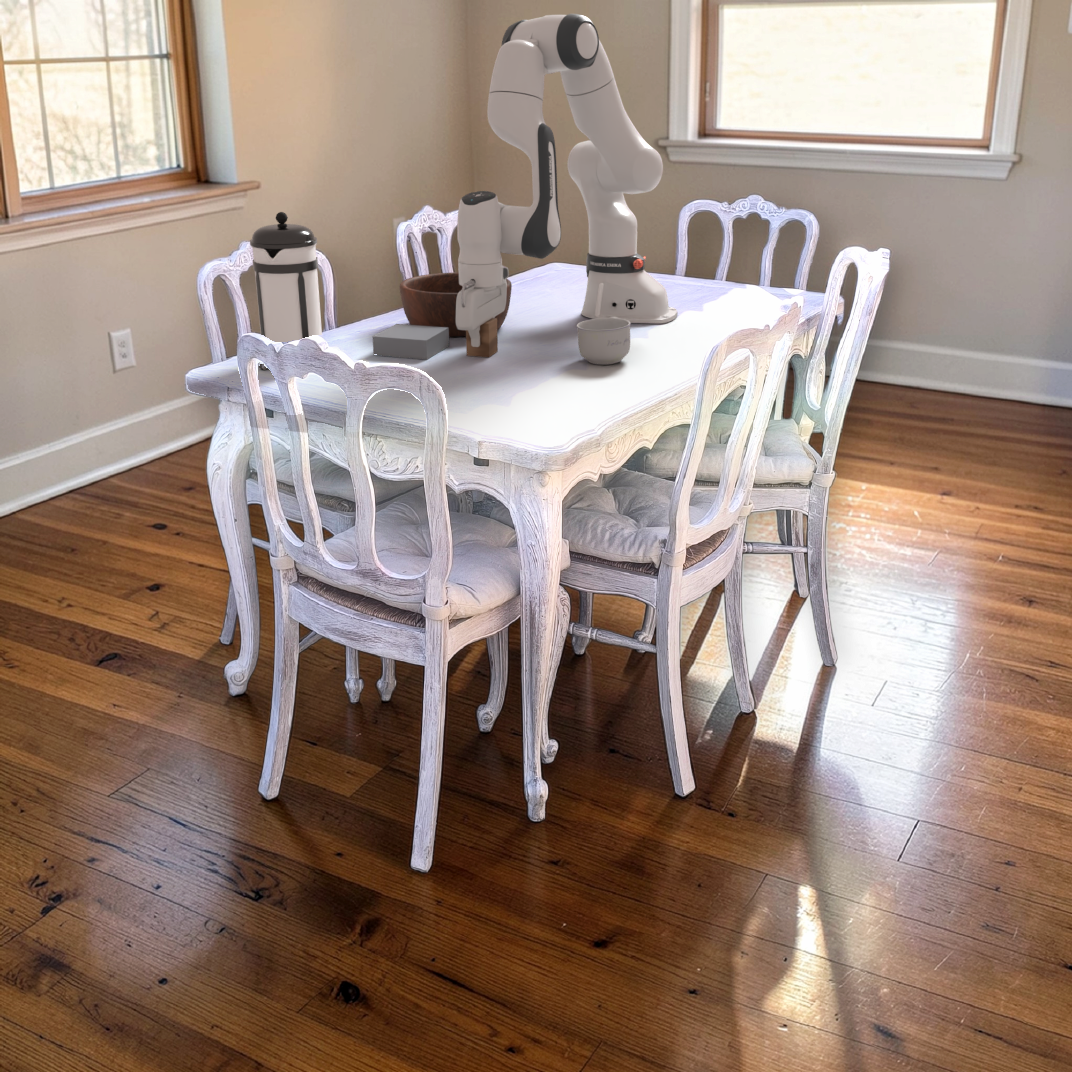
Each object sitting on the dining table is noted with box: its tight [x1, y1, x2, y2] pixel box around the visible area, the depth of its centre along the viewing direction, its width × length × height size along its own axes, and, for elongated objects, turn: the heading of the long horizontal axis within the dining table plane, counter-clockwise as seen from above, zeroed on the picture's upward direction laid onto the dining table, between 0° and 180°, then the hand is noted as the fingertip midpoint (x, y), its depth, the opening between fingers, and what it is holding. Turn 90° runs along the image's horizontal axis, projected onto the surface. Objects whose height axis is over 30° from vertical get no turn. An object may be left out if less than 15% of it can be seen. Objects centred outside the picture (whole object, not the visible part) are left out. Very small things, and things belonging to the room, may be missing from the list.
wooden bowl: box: [399, 271, 513, 338], centre depth 273 cm, size 25×25×10 cm
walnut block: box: [465, 318, 499, 358], centre depth 251 cm, size 5×5×7 cm
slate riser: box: [372, 323, 450, 361], centre depth 254 cm, size 12×12×4 cm
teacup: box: [576, 317, 632, 366], centre depth 246 cm, size 14×11×8 cm
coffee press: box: [249, 211, 323, 371], centre depth 240 cm, size 17×16×30 cm
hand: (482, 342), depth 251 cm, fingers closed on walnut block, 5 cm apart
